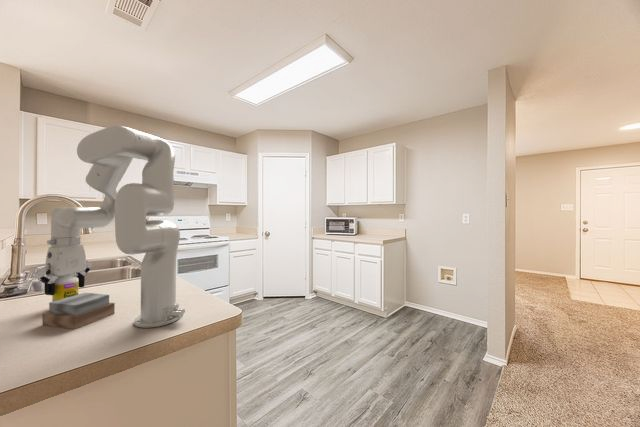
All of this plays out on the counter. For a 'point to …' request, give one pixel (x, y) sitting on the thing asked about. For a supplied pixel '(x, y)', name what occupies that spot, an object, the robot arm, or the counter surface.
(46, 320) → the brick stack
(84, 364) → the counter surface
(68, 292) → the supplement bottle
